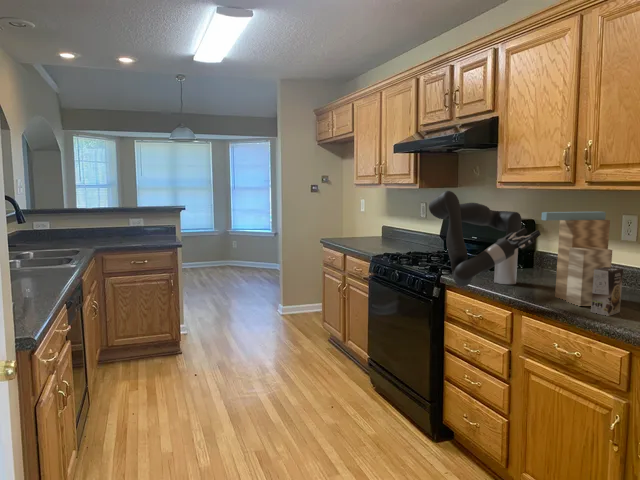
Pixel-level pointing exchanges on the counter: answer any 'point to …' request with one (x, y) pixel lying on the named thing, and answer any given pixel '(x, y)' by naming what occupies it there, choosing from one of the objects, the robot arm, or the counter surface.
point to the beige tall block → (584, 272)
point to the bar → (573, 216)
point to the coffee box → (607, 291)
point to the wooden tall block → (577, 245)
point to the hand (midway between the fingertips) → (532, 231)
